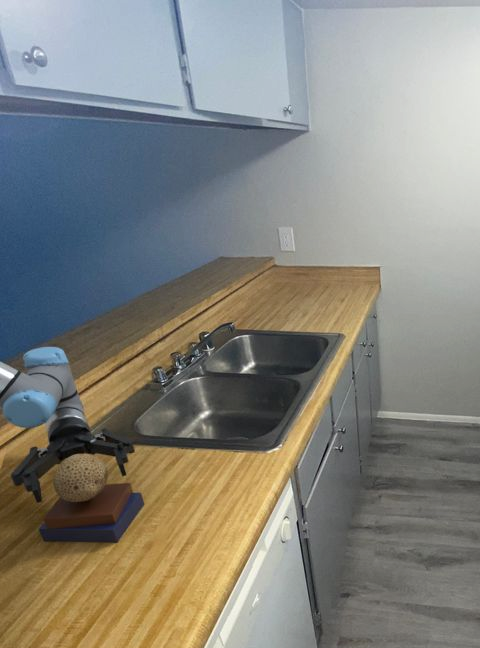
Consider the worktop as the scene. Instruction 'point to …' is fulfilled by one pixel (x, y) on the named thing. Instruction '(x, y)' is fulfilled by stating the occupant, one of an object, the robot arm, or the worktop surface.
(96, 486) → the natural sponge
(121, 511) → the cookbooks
